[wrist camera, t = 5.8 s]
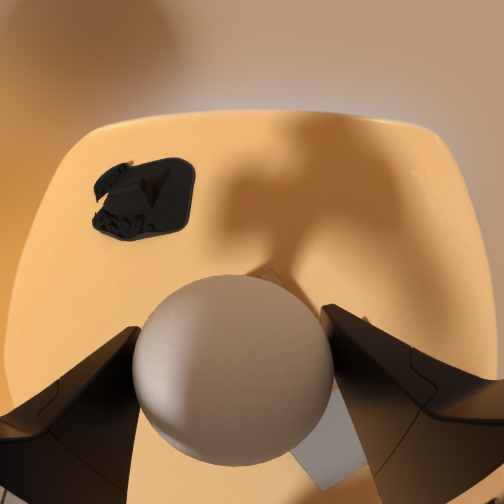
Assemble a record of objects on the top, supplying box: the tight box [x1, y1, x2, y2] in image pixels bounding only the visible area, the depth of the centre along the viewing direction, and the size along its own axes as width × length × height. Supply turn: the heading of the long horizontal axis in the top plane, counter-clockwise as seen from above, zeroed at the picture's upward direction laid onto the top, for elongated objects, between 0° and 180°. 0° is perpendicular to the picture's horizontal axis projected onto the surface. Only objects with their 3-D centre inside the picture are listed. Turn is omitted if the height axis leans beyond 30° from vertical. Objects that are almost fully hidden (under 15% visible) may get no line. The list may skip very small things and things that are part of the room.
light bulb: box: [132, 275, 334, 467], centre depth 9 cm, size 6×6×10 cm
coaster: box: [290, 388, 368, 492], centre depth 18 cm, size 11×11×1 cm
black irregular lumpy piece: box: [92, 158, 195, 241], centre depth 25 cm, size 12×10×5 cm
